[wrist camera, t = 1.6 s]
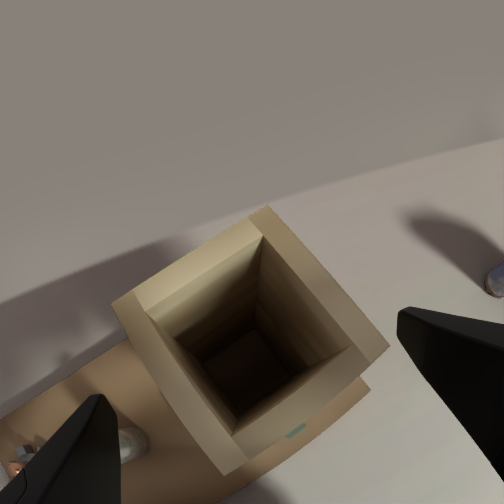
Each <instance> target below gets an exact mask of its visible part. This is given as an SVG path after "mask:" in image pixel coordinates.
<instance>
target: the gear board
mask: <svg viewBox="0 0 504 504" xmlns="http://www.w3.org/2000/svg"><path fill="white" fill-rule="evenodd" d="M204 366H205V367H206V368H207V370H208V371H209V373H210V374H211V375H212V377H213V378H214V380H215V381H216V382H217V384H218V385H219V386H220V388H221V389H222V391H223V392H224V393H225V395H226V396H227V397H228V399H229V400H230V401H231V402H232V404H233V405H234V406H235V408H236V409H237V410H238V412H239V413H241V412H243V411H244V410H246V409H247V408H249V407H250V406H252V405H253V404H254V403H256V402H257V401H259V400H260V399H261V398H263V397H264V396H266V395H267V394H268V393H270V392H271V391H273V390H274V389H275V388H277V387H278V386H279V385H281V384H282V383H283V382H285V381H286V380H287V379H289V378H290V375H289V374H288V372H287V371H286V370H285V369H284V367H283V366H282V365H281V363H280V362H279V361H278V360H277V358H276V357H275V356H274V355H273V353H272V352H271V351H270V350H269V348H268V347H267V346H266V344H265V343H264V342H263V341H262V339H261V338H260V337H259V335H258V334H257V333H256V331H255V330H253V329H252V330H251V331H250V332H248V333H247V334H245V335H244V336H243V337H241V338H240V339H238V340H237V341H235V342H234V343H232V344H231V345H230V346H228V347H227V348H225V349H224V350H222V351H221V352H219V353H218V354H216V355H215V356H213V357H212V358H210V359H209V360H207V361H206V362H204ZM369 391H371V389H370V388H369V387H368V386H367V384H366V383H365V382H364V381H363V380H362V378H361V377H360V376H358V377H357V378H356V379H355V380H354V381H353V382H352V383H350V384H349V385H348V386H347V387H346V388H345V389H344V390H343V391H341V392H340V393H339V394H338V395H337V396H336V397H334V398H333V399H332V400H331V401H330V402H328V403H327V404H326V405H325V406H324V407H322V408H321V409H320V410H319V411H317V412H316V413H315V414H314V415H312V416H311V417H310V418H308V419H307V420H306V421H305V422H304V423H305V424H306V425H307V426H306V427H305V428H303V429H302V430H301V431H300V432H298V433H297V434H295V435H294V436H293V437H291V438H290V439H288V438H287V437H286V436H285V437H283V438H282V439H280V440H279V441H278V442H276V443H275V444H273V445H272V446H270V447H269V448H267V449H266V450H264V451H263V452H262V453H260V454H259V455H257V456H256V457H254V458H252V459H251V460H249V461H248V462H246V463H245V464H243V465H241V466H240V467H238V468H237V469H235V470H233V471H232V472H230V473H228V474H227V475H225V476H224V475H223V474H222V473H221V472H220V471H219V469H218V468H217V467H216V466H215V465H214V463H213V462H212V461H211V460H210V458H209V457H208V456H207V455H206V453H205V452H204V451H203V450H202V448H201V447H200V446H199V444H198V443H197V442H196V441H195V439H194V438H193V437H192V435H191V434H190V432H189V431H188V430H187V428H186V427H185V426H184V424H183V423H182V421H181V420H180V419H179V417H178V416H177V414H176V413H175V412H174V410H173V409H172V407H171V406H170V404H169V403H168V401H167V400H166V398H165V397H164V395H163V394H162V392H161V391H160V389H159V388H158V386H157V385H156V383H155V381H154V380H153V378H152V377H151V375H150V373H149V372H148V370H147V369H146V367H145V365H144V364H143V362H142V360H141V359H140V357H139V355H138V354H137V352H136V350H135V348H134V347H133V345H132V343H131V341H130V340H129V338H126V339H125V340H123V341H122V342H120V343H119V344H117V345H115V346H114V347H112V348H111V349H109V350H108V351H106V352H105V353H103V354H102V355H100V356H99V357H97V358H95V359H94V360H92V361H91V362H89V363H88V364H86V365H85V366H83V367H82V368H80V369H79V370H77V371H75V372H74V373H72V374H71V375H69V376H68V377H66V378H65V379H63V380H62V381H60V382H58V383H57V384H55V385H54V386H52V387H51V388H49V389H48V390H46V391H44V392H43V393H41V394H40V395H38V396H37V397H35V398H34V399H32V400H31V401H29V402H27V403H26V404H24V405H23V406H21V407H20V408H18V409H17V410H15V411H13V412H12V413H10V414H9V415H7V416H6V417H4V418H3V419H1V420H0V460H1V462H2V464H3V466H4V468H5V470H6V472H7V474H8V476H9V478H10V480H12V479H13V478H14V477H15V476H13V475H12V474H10V473H9V472H8V463H9V462H10V461H17V460H18V458H19V456H18V454H17V452H16V450H15V449H16V448H18V447H20V446H21V445H31V446H32V448H33V450H34V452H35V453H37V446H43V445H44V444H45V443H46V442H47V441H48V440H49V438H50V437H51V436H52V435H53V434H54V433H55V432H56V431H57V430H58V429H59V428H60V427H61V425H62V424H63V423H64V422H65V421H66V420H67V419H68V418H69V417H70V416H71V415H72V414H73V413H74V411H75V410H76V409H77V408H78V407H79V406H80V405H81V404H82V403H83V402H84V401H85V400H86V399H87V398H88V397H89V396H90V395H92V394H99V393H102V394H104V395H105V396H106V398H107V400H108V401H109V403H110V404H111V406H112V408H113V409H114V411H115V412H116V415H117V418H118V429H123V428H129V427H138V428H141V429H142V430H144V431H145V432H146V433H147V435H148V436H149V439H150V447H149V449H148V451H147V452H146V453H144V454H142V455H140V456H138V457H136V458H134V459H131V460H129V461H127V462H125V463H123V464H121V504H215V503H217V502H219V501H220V500H222V499H224V498H226V497H228V496H229V495H231V494H233V493H235V492H236V491H238V490H240V489H241V488H243V487H245V486H246V485H248V484H250V483H251V482H253V481H255V480H256V479H258V478H259V477H261V476H262V475H264V474H265V473H267V472H269V471H270V470H272V469H273V468H275V467H276V466H277V465H279V464H280V463H282V462H283V461H285V460H286V459H288V458H289V457H290V456H292V455H293V454H295V453H296V452H297V451H299V450H300V449H301V448H303V447H304V446H305V445H307V444H308V443H309V442H311V441H312V440H313V439H315V438H316V437H317V436H318V435H320V434H321V433H322V432H323V431H325V430H326V429H327V428H328V427H330V426H331V425H332V424H333V423H334V422H336V421H337V420H338V419H339V418H340V417H342V416H343V415H344V414H345V413H346V412H347V411H349V410H350V409H351V408H352V407H353V406H354V405H355V404H356V403H358V402H359V401H360V400H361V399H362V398H363V397H364V396H365V395H366V394H367V393H368V392H369Z"/></svg>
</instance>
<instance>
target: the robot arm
mask: <svg viewBox="0 0 504 504" xmlns="http://www.w3.org/2000/svg"><path fill="white" fill-rule="evenodd" d="M397 337H398V339H399V341H400V343H401V344H402V346H403V347H404V349H405V350H406V352H407V353H408V355H409V356H410V358H411V359H412V361H413V362H414V364H415V365H416V367H417V368H418V370H419V371H420V373H421V374H422V375H423V377H424V378H425V379H426V380H427V382H428V383H429V384H430V385H431V387H432V388H433V389H434V390H435V391H436V393H437V394H438V395H439V396H440V398H441V399H442V400H443V401H444V403H445V404H446V405H447V407H448V408H449V409H450V410H451V412H452V413H453V414H454V415H455V417H456V418H457V419H458V421H459V422H460V423H461V424H462V426H463V427H464V428H465V430H466V431H467V432H468V434H469V435H470V436H471V438H472V439H473V440H474V441H475V443H476V444H477V445H478V447H479V448H480V450H481V451H482V452H483V454H484V455H485V456H486V458H487V459H488V460H489V462H490V463H491V465H492V466H493V468H494V469H495V470H496V472H497V473H498V475H499V476H500V477H501V479H502V480H503V482H504V324H499V323H494V322H488V321H483V320H478V319H472V318H467V317H462V316H457V315H451V314H446V313H441V312H436V311H431V310H426V309H421V308H416V307H407V308H404V309H402V310H400V311H399V312H398V317H397ZM0 504H121V456H120V445H119V432H118V418H117V415H116V412H115V411H114V409H113V408H112V406H111V404H110V403H109V401H108V400H107V398H106V396H105V395H104V394H102V393H99V394H92V395H90V396H89V397H88V398H87V399H86V400H85V401H84V402H83V403H82V404H81V405H80V406H79V407H78V408H77V409H76V410H75V411H74V413H73V414H72V415H71V416H70V417H69V418H68V419H67V420H66V421H65V422H64V423H63V424H62V425H61V427H60V428H59V429H58V430H57V431H56V432H55V433H54V434H53V435H52V436H51V437H50V438H49V440H48V441H47V442H46V443H45V444H44V445H43V446H42V447H41V448H40V449H39V450H38V452H37V453H36V454H35V455H34V456H33V457H32V458H31V459H30V460H29V461H28V463H27V464H26V465H25V466H24V468H22V469H21V470H20V471H19V473H18V474H17V475H16V476H15V477H14V478H13V479H12V480H11V481H10V482H9V483H8V484H7V485H6V486H5V487H4V488H3V489H2V490H1V491H0Z"/></svg>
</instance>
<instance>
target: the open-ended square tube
mask: <svg viewBox="0 0 504 504" xmlns="http://www.w3.org/2000/svg"><path fill="white" fill-rule="evenodd" d="M111 306H112V308H113V310H114V312H115V314H116V316H117V318H118V320H119V321H120V323H121V325H122V327H123V329H124V331H125V332H126V334H127V336H128V338H129V340H130V341H131V343H132V345H133V347H134V348H135V350H136V352H137V354H138V355H139V357H140V359H141V360H142V362H143V364H144V365H145V367H146V369H147V370H148V372H149V373H150V375H151V377H152V378H153V380H154V381H155V383H156V385H157V386H158V388H159V389H160V391H161V392H162V394H163V395H164V397H165V398H166V400H167V401H168V403H169V404H170V406H171V407H172V409H173V410H174V412H175V413H176V414H177V416H178V417H179V419H180V420H181V421H182V423H183V424H184V426H185V427H186V428H187V430H188V431H189V432H190V434H191V435H192V437H193V438H194V439H195V441H196V442H197V443H198V444H199V446H200V447H201V448H202V450H203V451H204V452H205V453H206V455H207V456H208V457H209V458H210V460H211V461H212V462H213V463H214V465H215V466H216V467H217V468H218V469H219V471H220V472H221V473H222V474H223V475H224V476H225V475H227V474H228V473H230V472H232V471H233V470H235V469H237V468H238V467H240V466H241V465H243V464H245V463H246V462H248V461H249V460H251V459H252V458H254V457H256V456H257V455H259V454H260V453H262V452H263V451H264V450H266V449H267V448H269V447H270V446H272V445H273V444H275V443H276V442H278V441H279V440H280V439H282V438H283V437H285V436H286V437H287V438H288V439H290V438H291V437H293V436H294V435H295V434H297V433H298V432H300V431H301V430H302V429H303V428H305V427H306V426H307V425H306V424H305V423H304V422H305V421H306V420H307V419H308V418H310V417H311V416H312V415H314V414H315V413H316V412H317V411H319V410H320V409H321V408H322V407H324V406H325V405H326V404H327V403H328V402H330V401H331V400H332V399H333V398H334V397H336V396H337V395H338V394H339V393H340V392H341V391H343V390H344V389H345V388H346V387H347V386H348V385H349V384H350V383H352V382H353V381H354V380H355V379H356V378H357V377H358V376H359V375H360V374H362V373H363V372H364V371H365V370H366V369H367V368H368V367H369V366H370V365H371V364H372V363H373V362H374V361H375V360H376V359H377V358H378V357H379V356H380V355H381V354H383V353H384V352H385V351H386V350H387V349H388V348H389V347H390V345H389V343H388V342H387V341H386V340H385V338H384V337H383V336H382V335H381V334H380V332H379V331H378V330H377V329H376V328H375V326H374V325H373V324H372V323H371V322H370V320H369V319H368V318H367V317H366V316H365V314H364V313H363V312H362V311H361V310H360V308H359V307H358V306H357V305H356V304H355V303H354V301H353V300H352V299H351V298H350V297H349V295H348V294H347V293H346V292H345V291H344V290H343V288H342V287H341V286H340V285H339V284H338V283H337V282H336V280H335V279H334V278H333V277H332V276H331V275H330V273H329V272H328V271H327V270H326V269H325V268H324V267H323V265H322V264H321V263H320V262H319V261H318V260H317V259H316V258H315V256H314V255H313V254H312V253H311V252H310V251H309V250H308V249H307V247H306V246H305V245H304V244H303V243H302V242H301V241H300V240H299V238H298V237H297V236H296V235H295V234H294V233H293V232H292V231H291V230H290V229H289V227H288V226H287V225H286V224H285V223H284V222H283V221H282V220H281V219H280V218H279V216H278V215H277V214H276V213H275V212H274V211H273V210H272V209H271V208H270V207H269V206H268V205H266V206H265V207H263V208H261V209H260V210H258V211H256V212H255V213H253V214H251V215H250V216H248V217H246V218H245V219H243V220H242V221H240V222H238V223H237V224H235V225H233V226H232V227H230V228H228V229H227V230H225V231H224V232H222V233H220V234H219V235H217V236H215V237H214V238H212V239H211V240H209V241H207V242H206V243H204V244H203V245H201V246H199V247H198V248H196V249H195V250H193V251H191V252H190V253H188V254H187V255H185V256H183V257H182V258H180V259H179V260H177V261H175V262H174V263H172V264H171V265H169V266H168V267H166V268H164V269H163V270H161V271H160V272H158V273H157V274H155V275H154V276H152V277H150V278H149V279H147V280H146V281H144V282H143V283H141V284H140V285H138V286H137V287H135V288H133V289H132V290H130V291H129V292H127V293H126V294H124V295H123V296H121V297H120V298H118V299H117V300H115V301H114V302H112V303H111ZM252 329H253V330H255V331H256V333H257V334H258V335H259V337H260V338H261V339H262V341H263V342H264V343H265V344H266V346H267V347H268V348H269V350H270V351H271V352H272V353H273V355H274V356H275V357H276V358H277V360H278V361H279V362H280V363H281V365H282V366H283V367H284V369H285V370H286V371H287V372H288V374H289V375H290V378H289V379H287V380H286V381H285V382H283V383H282V384H281V385H279V386H278V387H277V388H275V389H274V390H273V391H271V392H270V393H268V394H267V395H266V396H264V397H263V398H261V399H260V400H259V401H257V402H256V403H254V404H253V405H252V406H250V407H249V408H247V409H246V410H244V411H243V412H241V413H239V412H238V410H237V409H236V408H235V406H234V405H233V404H232V402H231V401H230V400H229V399H228V397H227V396H226V395H225V393H224V392H223V391H222V389H221V388H220V386H219V385H218V384H217V382H216V381H215V380H214V378H213V377H212V375H211V374H210V373H209V371H208V370H207V368H206V367H205V366H204V362H206V361H207V360H209V359H210V358H212V357H213V356H215V355H216V354H218V353H219V352H221V351H222V350H224V349H225V348H227V347H228V346H230V345H231V344H232V343H234V342H235V341H237V340H238V339H240V338H241V337H243V336H244V335H245V334H247V333H248V332H250V331H251V330H252Z"/></svg>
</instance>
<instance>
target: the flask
mask: <svg viewBox="0 0 504 504" xmlns="http://www.w3.org/2000/svg"><path fill="white" fill-rule="evenodd" d="M486 278H487V281H486ZM485 284H486V290H487V292H488V293H490V294H491V295H492V296H494V297H497V298H498V299H499V298H500V299H501V297H504V262H503V263H501V264H500V265H499V266H497V267H496V268H495V269H493V270H491V271H490V272H489V273H488V274H487V275H486V277H485Z"/></svg>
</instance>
